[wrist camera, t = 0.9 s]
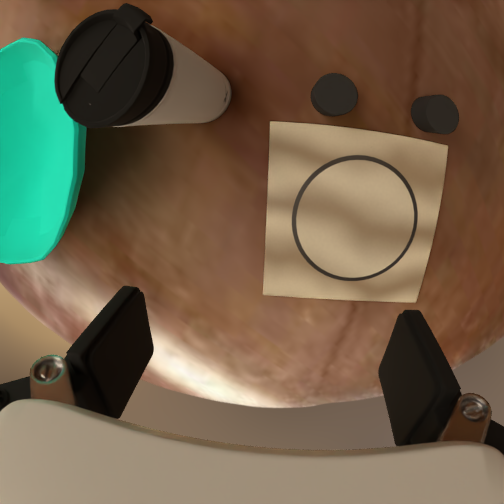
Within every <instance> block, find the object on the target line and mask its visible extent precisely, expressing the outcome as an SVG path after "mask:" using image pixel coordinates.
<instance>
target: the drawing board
mask: <svg viewBox="0 0 504 504" xmlns="http://www.w3.org/2000/svg"><path fill="white" fill-rule="evenodd" d="M447 153H448V146H447V145H443V144H439V143H434V142H430V141H425V140H421V139H416V138H411V137H405V136H400V135H394V134H388V133H382V132H376V131H369V130H362V129H355V128H347V127H338V126H329V125H319V124H307V123H293V122H275V121H270V140H269V167H268V193H267V217H266V240H265V262H264V282H263V295H272V296H286V297H301V298H318V299H336V300H357V301H383V302H416V300H417V297H418V294H419V290H420V287H421V284H422V280H423V277H424V273H425V269H426V266H427V262H428V258H429V254H430V250H431V246H432V242H433V237H434V233H435V228H436V223H437V219H438V213H439V208H440V203H441V197H442V191H443V184H444V177H445V170H446V162H447Z"/></svg>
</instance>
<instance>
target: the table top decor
mask: <svg viewBox="0 0 504 504" xmlns="http://www.w3.org/2000/svg"><path fill="white" fill-rule="evenodd" d="M57 59H58V56H57V55H56V54H55V53H54V52H53V51H52V50H51V49H50V48H49V47H47V46H46V45H45V44H44V43H42V42H41V41H40V40H37V39H30V38H21V39H19V40H17V41H15V42H13V43H11V44H9V45H7V46H5V47H3V48H2V49H0V262H1V263H6V264H22V263H32V262H36V261H40V260H44V259H45V258H46V256H47V255H48V254H49V253H50V252H51V251H52V250H53V249H54V248H55V247H56V245H57V244H58V242H59V241H60V239H61V238H62V237H63V235H64V233H65V230H66V228H67V226H68V223H69V221H70V219H71V217H72V215H73V212H74V210H75V207H76V203H77V199H78V194H79V190H80V186H81V182H82V179H83V175H84V171H85V146H86V129H87V128H86V127H85V126H83V125H81V124H78V123H77V122H75V121H74V120H73V119H71V118H70V117H69V115H68V114H67V113H66V111H65V110H64V107H63V104H60V102H59V100H58V97H57V95H56V92H55V83H54V78H55V68H56V63H57Z"/></svg>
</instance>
